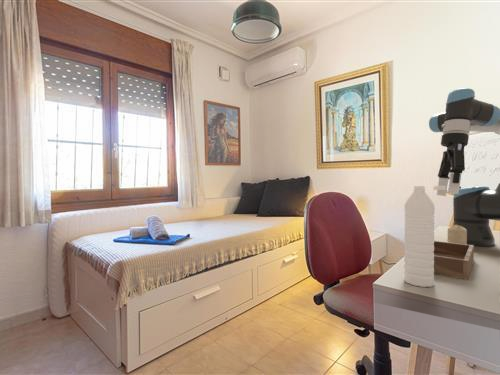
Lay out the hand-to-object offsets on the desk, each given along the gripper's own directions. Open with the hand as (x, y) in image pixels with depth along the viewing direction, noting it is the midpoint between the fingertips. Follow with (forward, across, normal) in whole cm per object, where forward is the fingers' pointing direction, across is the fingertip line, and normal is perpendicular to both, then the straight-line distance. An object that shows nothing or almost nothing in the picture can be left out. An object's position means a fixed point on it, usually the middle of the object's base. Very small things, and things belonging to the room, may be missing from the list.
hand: (446, 194), depth 93 cm
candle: (+20, -8, +7) cm, 23 cm away
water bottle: (+26, +30, -9) cm, 41 cm away
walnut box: (+23, +10, 0) cm, 25 cm away
